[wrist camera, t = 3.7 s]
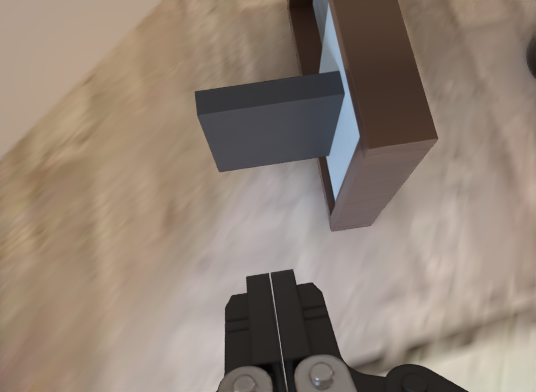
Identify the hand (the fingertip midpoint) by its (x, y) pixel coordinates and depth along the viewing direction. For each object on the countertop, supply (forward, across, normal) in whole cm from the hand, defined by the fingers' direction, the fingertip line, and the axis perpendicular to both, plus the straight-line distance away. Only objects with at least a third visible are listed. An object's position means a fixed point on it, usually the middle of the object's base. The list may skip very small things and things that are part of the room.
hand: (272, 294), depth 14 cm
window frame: (+26, -7, +2) cm, 27 cm away
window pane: (+22, -2, +5) cm, 22 cm away
